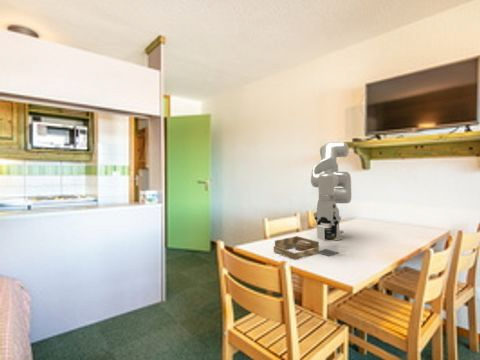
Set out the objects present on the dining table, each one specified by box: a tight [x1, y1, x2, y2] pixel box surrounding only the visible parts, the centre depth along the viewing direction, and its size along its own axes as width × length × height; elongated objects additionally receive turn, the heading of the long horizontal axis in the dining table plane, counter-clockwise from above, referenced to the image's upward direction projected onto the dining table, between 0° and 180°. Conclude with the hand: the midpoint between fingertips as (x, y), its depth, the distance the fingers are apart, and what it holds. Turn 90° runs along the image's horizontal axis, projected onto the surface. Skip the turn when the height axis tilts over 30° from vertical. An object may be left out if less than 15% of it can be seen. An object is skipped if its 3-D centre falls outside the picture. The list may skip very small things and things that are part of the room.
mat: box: [318, 248, 340, 257], centre depth 139 cm, size 8×8×1 cm
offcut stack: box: [295, 240, 312, 252], centre depth 144 cm, size 4×9×5 cm, turn 32°
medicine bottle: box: [316, 217, 338, 242], centre depth 138 cm, size 7×7×12 cm
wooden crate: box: [273, 235, 320, 261], centre depth 140 cm, size 17×16×6 cm
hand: (326, 231), depth 138 cm, fingers closed on medicine bottle, 8 cm apart
